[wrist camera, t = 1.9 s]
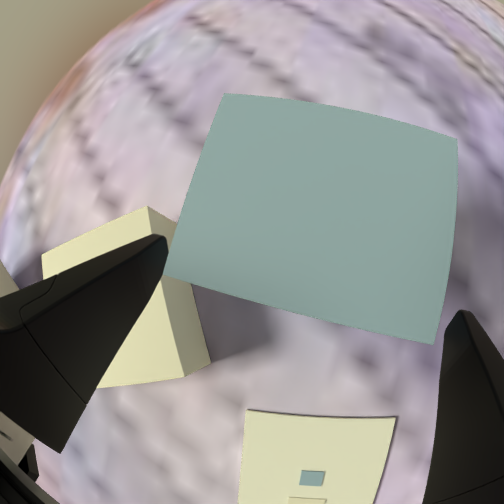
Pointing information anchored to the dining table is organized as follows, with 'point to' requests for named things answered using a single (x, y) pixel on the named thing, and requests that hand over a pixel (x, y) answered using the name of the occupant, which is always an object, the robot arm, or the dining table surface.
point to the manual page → (312, 459)
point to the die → (6, 282)
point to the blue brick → (322, 215)
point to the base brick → (155, 313)
